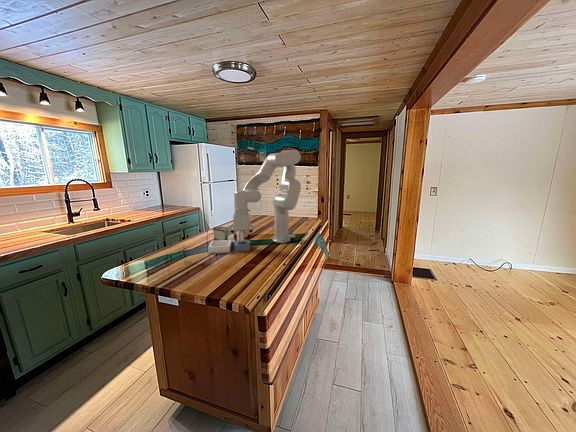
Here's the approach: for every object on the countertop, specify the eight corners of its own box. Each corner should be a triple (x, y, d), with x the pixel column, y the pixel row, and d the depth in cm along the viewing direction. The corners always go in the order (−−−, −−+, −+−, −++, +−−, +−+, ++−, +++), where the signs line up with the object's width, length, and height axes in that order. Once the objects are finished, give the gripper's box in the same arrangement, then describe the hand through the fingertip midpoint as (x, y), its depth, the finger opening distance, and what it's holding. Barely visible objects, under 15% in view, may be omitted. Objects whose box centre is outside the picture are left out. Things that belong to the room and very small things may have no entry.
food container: (233, 242, 153) (233, 228, 151) (226, 245, 148) (225, 230, 146) (220, 239, 159) (219, 225, 157) (213, 242, 154) (212, 227, 152)
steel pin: (245, 247, 144) (244, 229, 142) (245, 249, 141) (244, 230, 138) (239, 248, 143) (239, 229, 141) (239, 249, 140) (238, 230, 138)
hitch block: (249, 246, 147) (249, 239, 146) (249, 250, 139) (249, 244, 138) (235, 246, 146) (235, 240, 145) (234, 251, 137) (234, 245, 136)
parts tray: (231, 246, 147) (231, 239, 146) (229, 252, 135) (229, 246, 134) (211, 246, 145) (211, 240, 144) (208, 253, 133) (208, 247, 133)
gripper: (255, 210, 142) (256, 238, 146) (226, 210, 140) (228, 239, 143) (256, 212, 135) (256, 241, 139) (225, 212, 132) (226, 242, 136)
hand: (242, 240), depth 141 cm, fingers open, 6 cm apart
